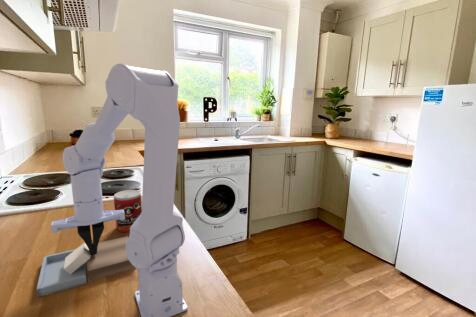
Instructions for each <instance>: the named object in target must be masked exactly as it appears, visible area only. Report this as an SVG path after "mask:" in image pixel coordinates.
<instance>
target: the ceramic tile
mask: <svg viewBox="0 0 476 317" xmlns="http://www.w3.org/2000/svg"><path fill="white" fill-rule="evenodd" d="M75 249H76V250H74V249H73V250H74V251H73V252H72V253H71V254H70V255H68V256H67V257H66V258H65V263H64V270H65V271H66V272H68V273H69V274H72V273H73V272H74V271H75V270H77V269H78V268H79V267H80V266H81V265H83V264H84V263H85V262H86V263H87V260H88V259H90V251H89V249H88V247H87V245H86V243H85V242H83V243H81V245H79V246H78V247H77V248H75Z"/></svg>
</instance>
